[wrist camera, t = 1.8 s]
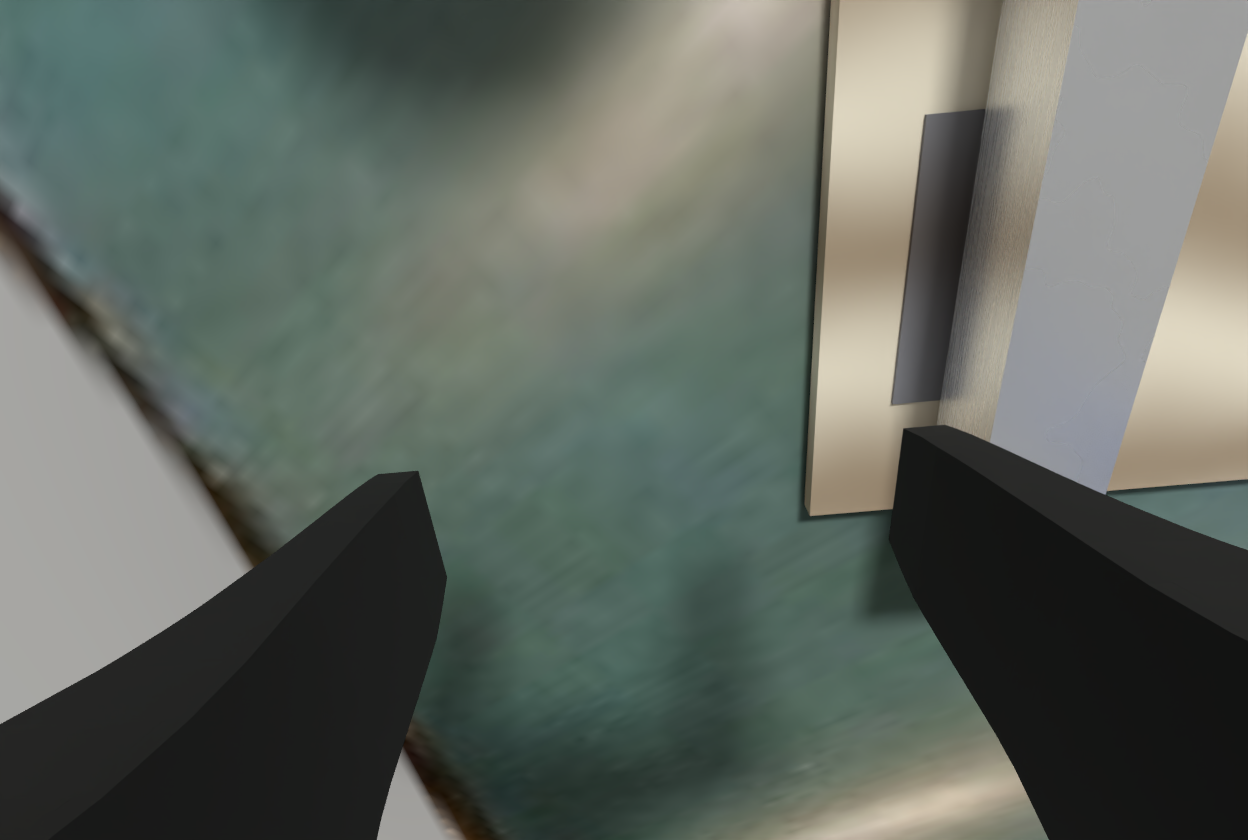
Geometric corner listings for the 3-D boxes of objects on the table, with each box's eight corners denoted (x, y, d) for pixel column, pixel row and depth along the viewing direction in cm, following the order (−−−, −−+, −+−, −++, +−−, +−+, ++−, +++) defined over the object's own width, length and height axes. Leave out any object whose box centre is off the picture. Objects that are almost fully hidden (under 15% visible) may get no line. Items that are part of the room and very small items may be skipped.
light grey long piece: (1004, 516, 20) (1115, 637, 16) (899, 525, 20) (980, 649, 16) (1241, -529, 11) (1687, -951, 6) (1039, -508, 11) (1343, -913, 6)
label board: (1482, 446, 19) (1512, 459, 19) (804, 504, 20) (811, 518, 19) (1851, -168, 13) (1918, -181, 12) (834, -69, 13) (846, -76, 13)
